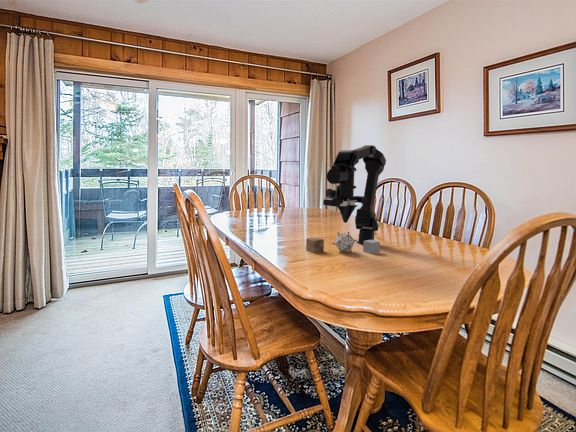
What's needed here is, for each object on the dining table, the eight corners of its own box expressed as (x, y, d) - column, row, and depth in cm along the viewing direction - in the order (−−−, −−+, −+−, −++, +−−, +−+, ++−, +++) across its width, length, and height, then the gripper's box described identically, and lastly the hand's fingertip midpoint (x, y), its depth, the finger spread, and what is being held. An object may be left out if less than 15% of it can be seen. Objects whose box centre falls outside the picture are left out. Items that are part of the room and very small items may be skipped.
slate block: (370, 250, 145) (371, 239, 144) (379, 252, 141) (379, 241, 140) (363, 251, 142) (363, 240, 142) (371, 254, 139) (372, 242, 138)
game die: (347, 261, 141) (356, 245, 134) (328, 253, 142) (335, 236, 135) (352, 247, 147) (361, 230, 140) (333, 238, 148) (341, 222, 141)
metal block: (315, 248, 146) (316, 237, 145) (323, 251, 142) (323, 239, 141) (306, 250, 143) (306, 238, 143) (313, 253, 139) (314, 240, 139)
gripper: (349, 181, 149) (348, 218, 152) (314, 182, 139) (314, 221, 141) (369, 182, 140) (367, 221, 143) (333, 184, 130) (332, 225, 132)
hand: (345, 222), depth 140 cm, fingers closed
